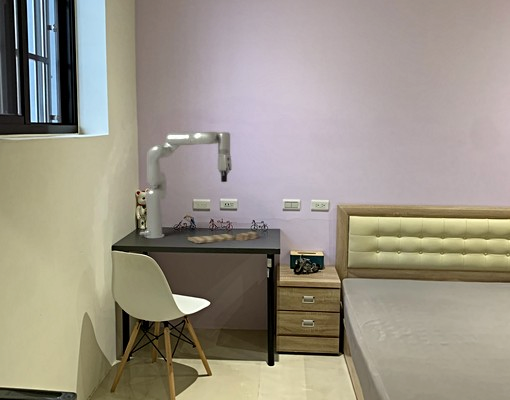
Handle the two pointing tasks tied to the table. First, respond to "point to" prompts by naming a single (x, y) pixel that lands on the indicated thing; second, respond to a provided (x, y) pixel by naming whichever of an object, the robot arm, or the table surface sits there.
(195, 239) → the plank
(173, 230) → the table surface
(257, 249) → the table surface
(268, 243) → the table surface
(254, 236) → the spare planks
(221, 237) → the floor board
